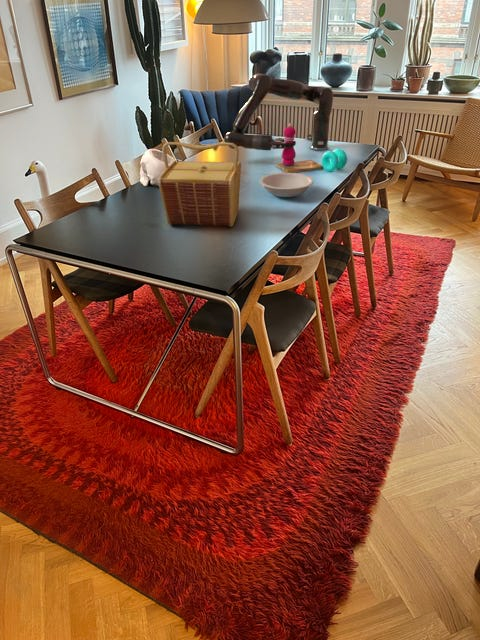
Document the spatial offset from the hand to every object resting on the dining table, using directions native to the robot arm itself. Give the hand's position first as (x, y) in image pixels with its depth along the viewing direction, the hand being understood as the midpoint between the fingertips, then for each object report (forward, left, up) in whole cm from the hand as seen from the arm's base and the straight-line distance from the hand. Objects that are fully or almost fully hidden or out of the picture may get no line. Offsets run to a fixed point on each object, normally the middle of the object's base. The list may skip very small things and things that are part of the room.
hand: (294, 144), depth 245 cm
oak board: (+1, +3, -12) cm, 13 cm away
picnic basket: (+54, -62, -12) cm, 83 cm away
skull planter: (+2, -72, -12) cm, 73 cm away
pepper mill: (-2, -2, -10) cm, 11 cm away
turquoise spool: (+11, +18, -12) cm, 24 cm away
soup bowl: (+38, -20, -12) cm, 44 cm away
